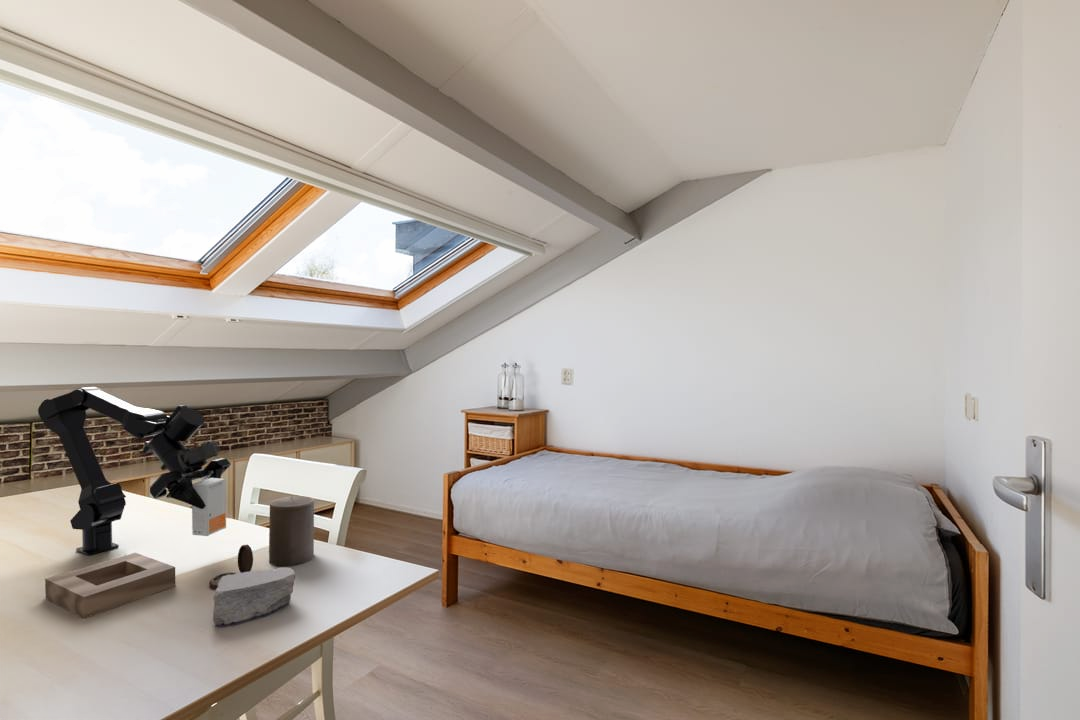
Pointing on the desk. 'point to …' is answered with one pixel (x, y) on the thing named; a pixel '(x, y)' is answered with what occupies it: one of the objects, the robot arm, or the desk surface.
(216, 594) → the decorative stone
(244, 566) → the dark brown curved piece
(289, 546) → the pillar candle
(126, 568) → the holder block
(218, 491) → the skincare box
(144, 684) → the desk surface
